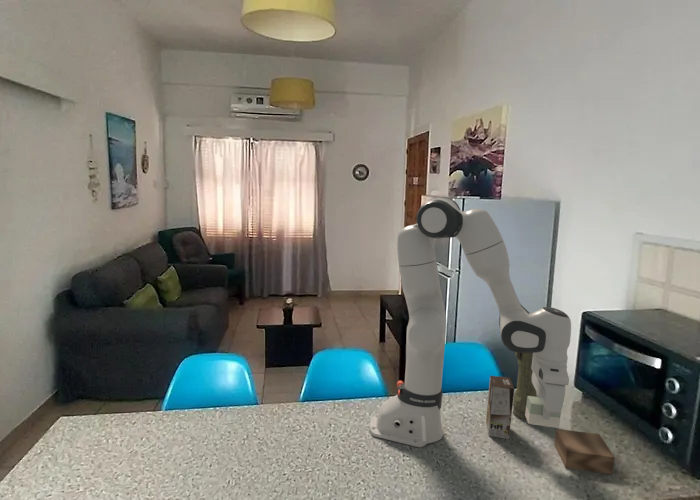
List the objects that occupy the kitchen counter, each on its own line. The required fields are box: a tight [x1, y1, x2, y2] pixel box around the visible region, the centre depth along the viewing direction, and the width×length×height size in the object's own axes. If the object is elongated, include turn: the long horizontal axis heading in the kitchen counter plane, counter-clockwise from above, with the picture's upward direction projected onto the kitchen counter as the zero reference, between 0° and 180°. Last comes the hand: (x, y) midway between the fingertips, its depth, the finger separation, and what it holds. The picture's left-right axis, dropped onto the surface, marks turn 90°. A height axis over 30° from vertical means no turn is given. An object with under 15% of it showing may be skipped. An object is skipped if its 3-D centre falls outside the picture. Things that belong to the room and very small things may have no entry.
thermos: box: [512, 352, 537, 422], centre depth 155 cm, size 9×12×35 cm
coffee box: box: [485, 375, 515, 440], centre depth 146 cm, size 9×6×16 cm
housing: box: [525, 396, 562, 429], centre depth 132 cm, size 8×5×6 cm, turn 80°
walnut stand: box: [554, 428, 615, 475], centre depth 133 cm, size 12×12×5 cm
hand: (542, 412), depth 132 cm, fingers closed on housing, 5 cm apart
